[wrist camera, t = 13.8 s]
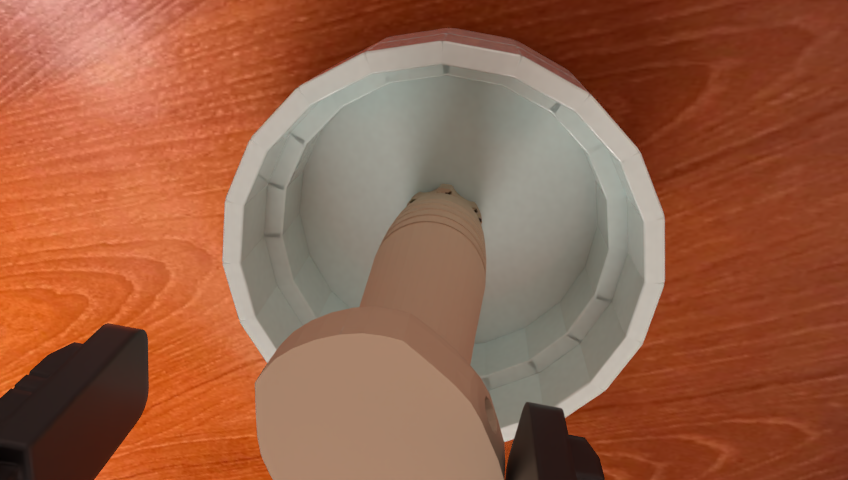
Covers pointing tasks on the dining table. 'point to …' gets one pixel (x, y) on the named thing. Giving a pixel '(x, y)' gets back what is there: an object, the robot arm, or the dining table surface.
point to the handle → (391, 365)
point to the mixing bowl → (473, 180)
